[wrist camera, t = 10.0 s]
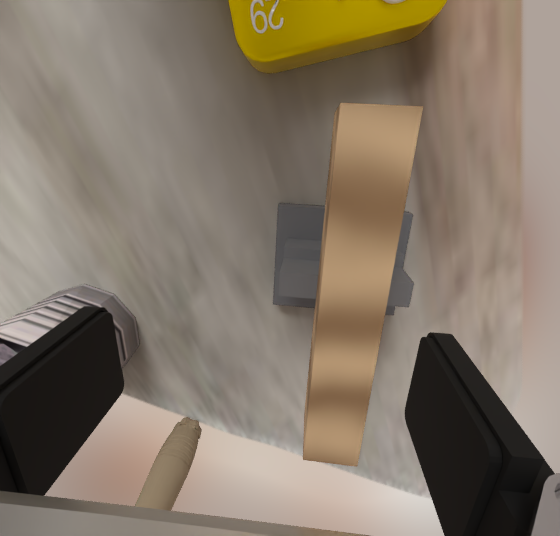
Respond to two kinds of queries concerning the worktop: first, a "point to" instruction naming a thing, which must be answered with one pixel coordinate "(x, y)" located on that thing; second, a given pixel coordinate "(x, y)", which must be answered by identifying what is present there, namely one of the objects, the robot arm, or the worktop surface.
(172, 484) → the handle
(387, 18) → the element tile
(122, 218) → the worktop surface
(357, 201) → the oak batten
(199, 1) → the worktop surface
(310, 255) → the fulcrum stand
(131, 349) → the can
